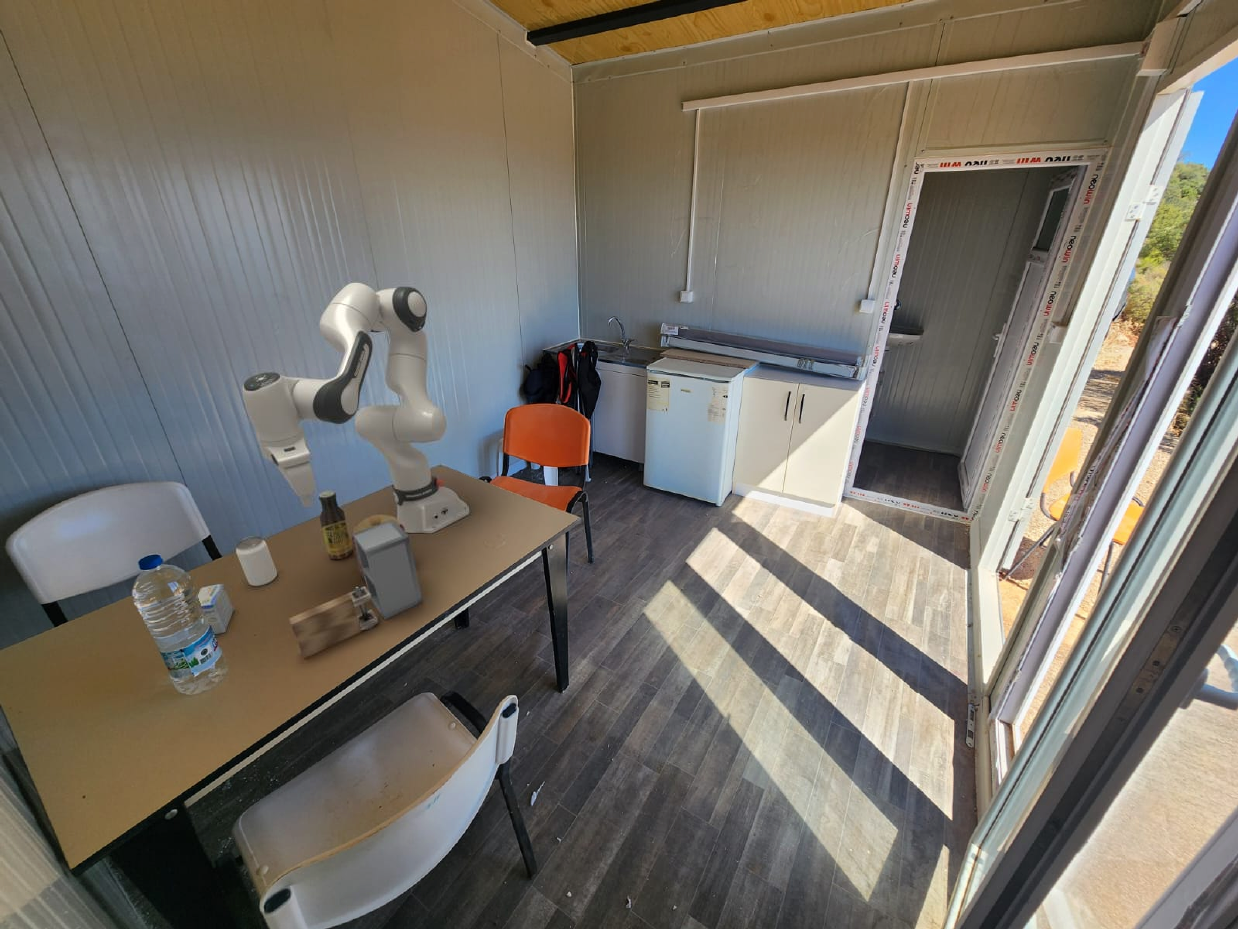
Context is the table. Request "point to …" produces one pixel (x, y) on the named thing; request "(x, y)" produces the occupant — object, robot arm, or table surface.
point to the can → (256, 561)
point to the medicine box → (216, 606)
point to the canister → (372, 522)
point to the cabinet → (388, 568)
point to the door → (330, 623)
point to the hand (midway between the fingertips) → (302, 496)
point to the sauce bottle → (334, 527)
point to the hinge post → (363, 607)
